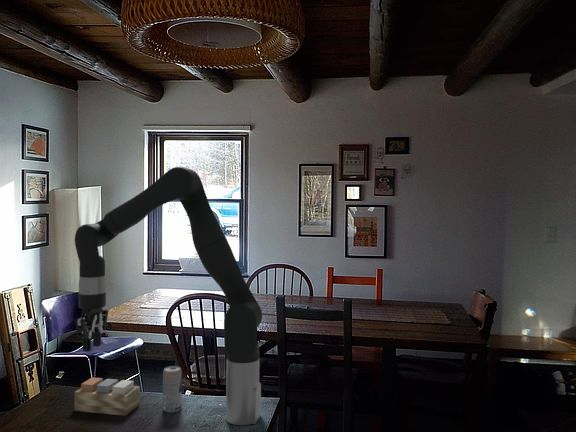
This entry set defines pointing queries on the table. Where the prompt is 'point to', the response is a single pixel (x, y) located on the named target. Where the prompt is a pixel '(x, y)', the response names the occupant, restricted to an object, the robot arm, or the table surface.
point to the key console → (107, 402)
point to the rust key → (91, 384)
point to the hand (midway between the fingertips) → (92, 348)
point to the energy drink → (172, 389)
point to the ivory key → (123, 387)
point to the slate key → (106, 386)
